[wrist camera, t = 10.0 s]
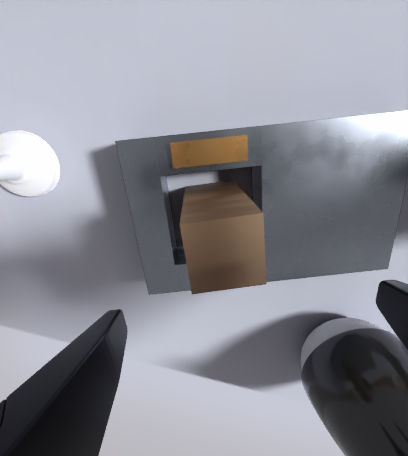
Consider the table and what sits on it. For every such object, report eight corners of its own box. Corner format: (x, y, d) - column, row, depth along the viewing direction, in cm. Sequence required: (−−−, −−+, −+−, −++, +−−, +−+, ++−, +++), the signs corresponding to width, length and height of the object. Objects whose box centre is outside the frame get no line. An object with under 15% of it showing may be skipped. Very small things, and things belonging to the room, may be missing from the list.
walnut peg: (233, 180, 20) (263, 213, 11) (237, 225, 21) (266, 284, 13) (185, 186, 20) (179, 224, 11) (192, 231, 21) (192, 294, 13)
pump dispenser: (319, 288, 24) (503, 510, 10) (397, 319, 26) (645, 541, 12) (268, 357, 27) (351, 600, 13) (341, 380, 29) (483, 612, 15)
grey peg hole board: (386, 113, 18) (426, 108, 15) (363, 252, 23) (390, 270, 20) (127, 140, 18) (113, 141, 15) (154, 274, 22) (148, 296, 19)
